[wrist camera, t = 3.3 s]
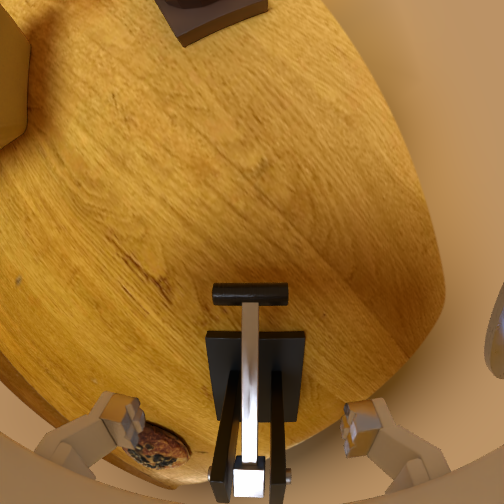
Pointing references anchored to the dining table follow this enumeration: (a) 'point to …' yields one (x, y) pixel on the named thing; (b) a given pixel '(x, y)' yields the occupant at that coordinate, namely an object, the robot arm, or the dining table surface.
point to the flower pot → (12, 79)
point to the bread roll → (158, 449)
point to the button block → (206, 15)
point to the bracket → (269, 402)
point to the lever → (250, 375)
